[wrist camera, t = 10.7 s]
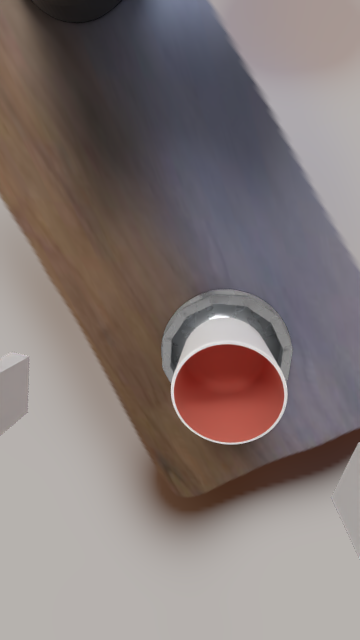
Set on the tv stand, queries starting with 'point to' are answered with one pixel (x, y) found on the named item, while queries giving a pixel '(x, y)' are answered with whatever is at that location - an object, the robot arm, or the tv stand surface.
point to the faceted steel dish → (231, 307)
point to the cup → (228, 383)
